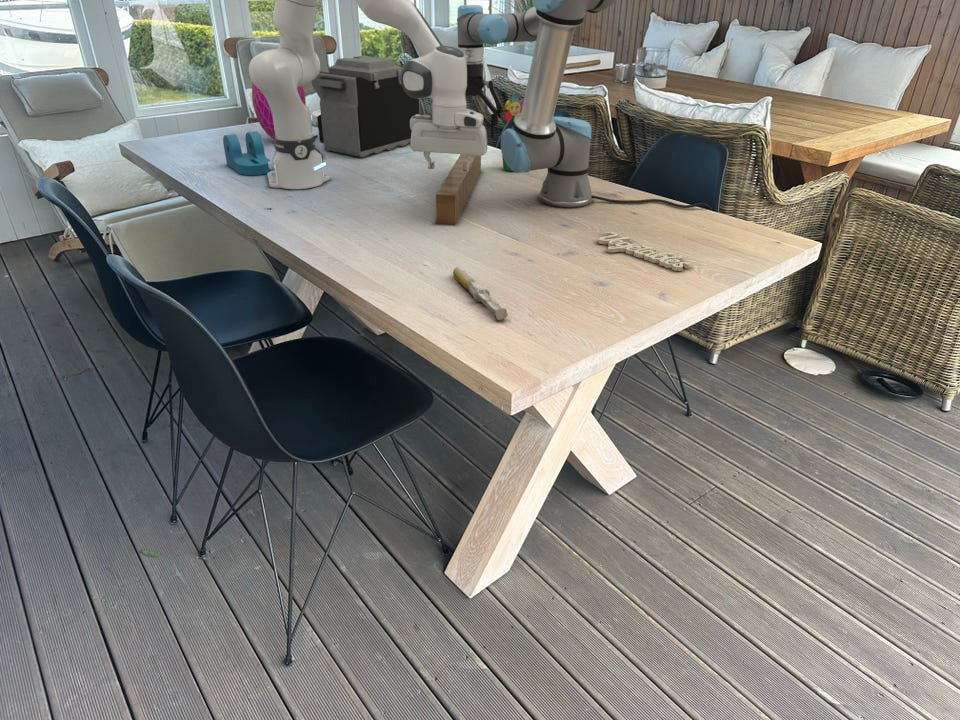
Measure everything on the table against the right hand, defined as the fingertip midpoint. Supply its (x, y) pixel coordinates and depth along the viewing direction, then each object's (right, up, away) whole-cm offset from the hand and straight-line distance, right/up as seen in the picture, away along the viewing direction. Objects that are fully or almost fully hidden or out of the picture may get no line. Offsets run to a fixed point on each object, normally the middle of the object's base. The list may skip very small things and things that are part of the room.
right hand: (471, 135), depth 216 cm
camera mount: (-74, -7, +13) cm, 75 cm away
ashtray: (-57, +30, +76) cm, 100 cm away
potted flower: (+14, -6, +16) cm, 22 cm away
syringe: (+2, -57, -71) cm, 92 cm away
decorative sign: (+41, -45, -49) cm, 78 cm away
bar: (-3, -21, -10) cm, 23 cm away
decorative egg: (-73, +14, +48) cm, 88 cm away
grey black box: (-38, +10, +42) cm, 57 cm away
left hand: (-6, -20, -33) cm, 38 cm away
